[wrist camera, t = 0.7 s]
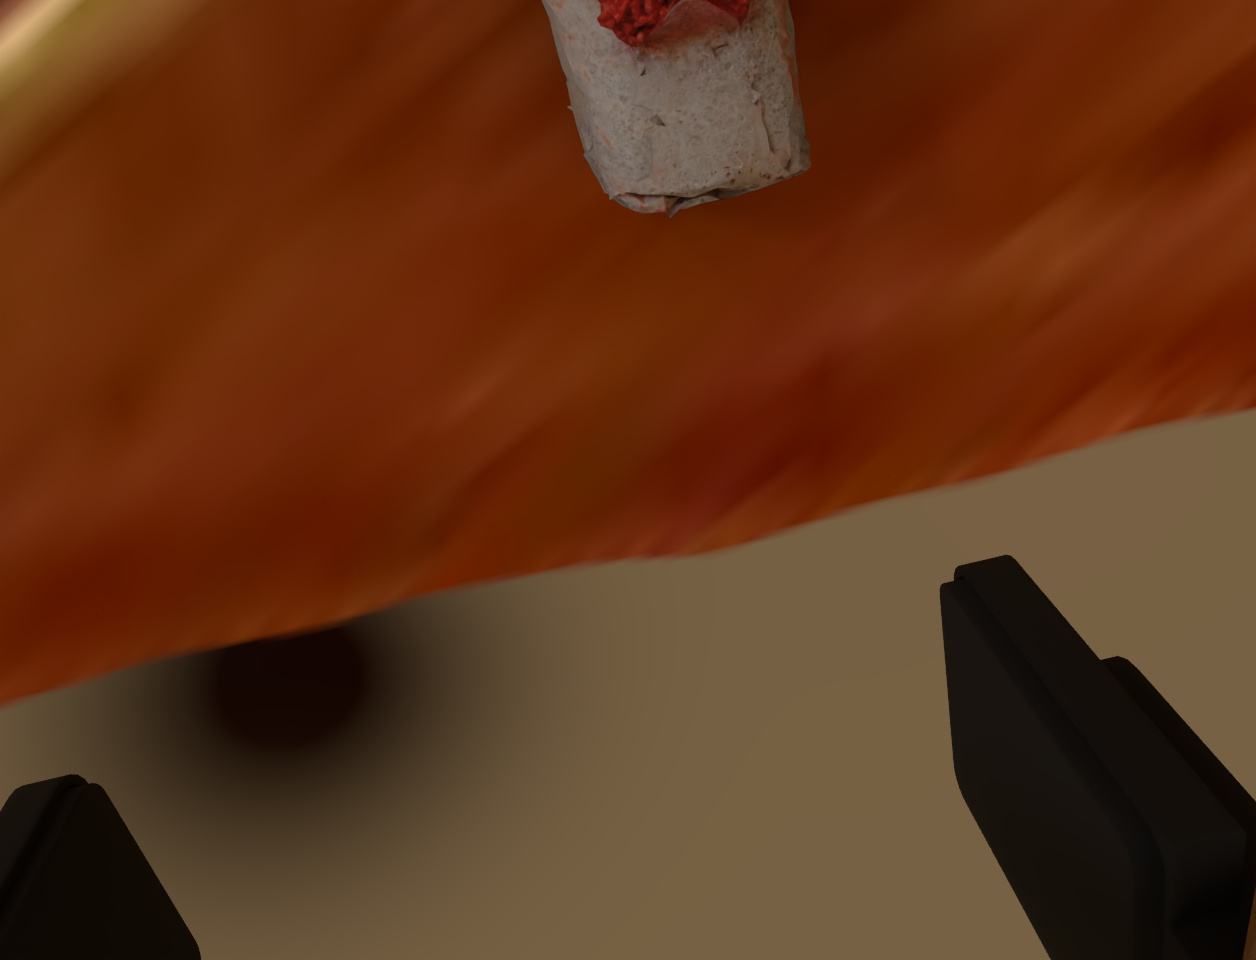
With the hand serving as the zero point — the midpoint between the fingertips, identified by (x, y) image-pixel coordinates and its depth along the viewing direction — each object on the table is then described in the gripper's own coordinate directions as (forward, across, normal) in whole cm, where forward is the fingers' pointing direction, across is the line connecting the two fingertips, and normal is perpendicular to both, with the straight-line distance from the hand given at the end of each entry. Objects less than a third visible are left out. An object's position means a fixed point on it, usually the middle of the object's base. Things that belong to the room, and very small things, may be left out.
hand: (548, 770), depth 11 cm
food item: (+30, -6, -7) cm, 31 cm away
